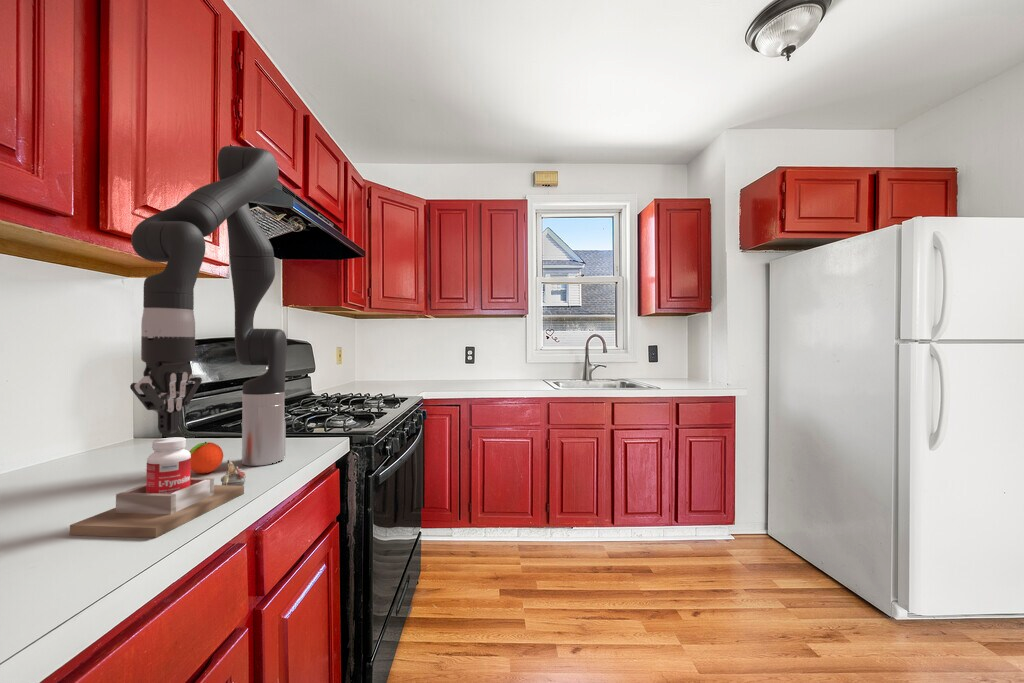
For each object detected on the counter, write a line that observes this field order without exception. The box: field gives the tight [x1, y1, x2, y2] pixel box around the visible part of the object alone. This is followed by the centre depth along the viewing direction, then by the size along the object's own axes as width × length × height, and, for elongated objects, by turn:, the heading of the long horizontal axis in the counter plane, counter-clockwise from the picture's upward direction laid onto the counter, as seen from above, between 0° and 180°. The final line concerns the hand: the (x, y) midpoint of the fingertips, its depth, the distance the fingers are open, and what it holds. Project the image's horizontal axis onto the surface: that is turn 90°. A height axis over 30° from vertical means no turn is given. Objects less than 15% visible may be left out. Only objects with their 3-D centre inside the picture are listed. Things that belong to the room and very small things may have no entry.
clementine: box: [188, 441, 224, 475], centre depth 100 cm, size 8×7×7 cm
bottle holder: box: [69, 477, 245, 539], centre depth 77 cm, size 20×14×4 cm
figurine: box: [220, 459, 247, 486], centre depth 91 cm, size 5×4×6 cm
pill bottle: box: [145, 436, 192, 494], centre depth 78 cm, size 6×6×11 cm
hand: (168, 432), depth 78 cm, fingers closed
